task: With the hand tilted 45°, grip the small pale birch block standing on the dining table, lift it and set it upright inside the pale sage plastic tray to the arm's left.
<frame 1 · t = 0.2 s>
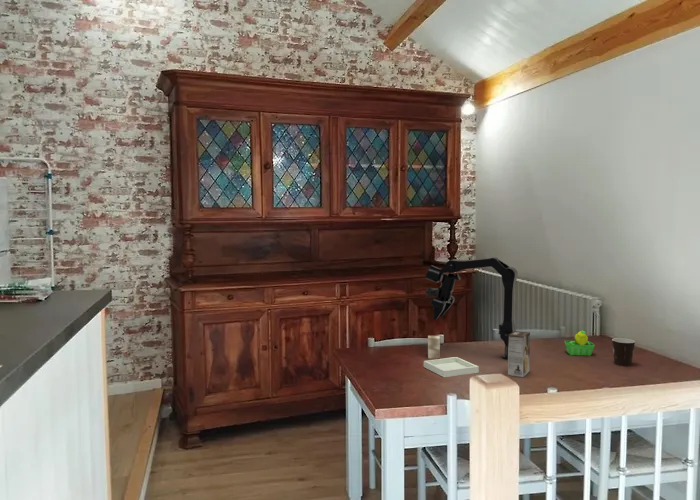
hand: (437, 317, 255), 15 cm above the table, tool tilted 15°, fingers open, 9 cm apart
fruit basket: (579, 354, 247), on the table
birch block: (433, 356, 245), on the table
coffee mug: (621, 365, 230), on the table
coffee box: (518, 373, 219), on the table
tray: (450, 369, 225), on the table
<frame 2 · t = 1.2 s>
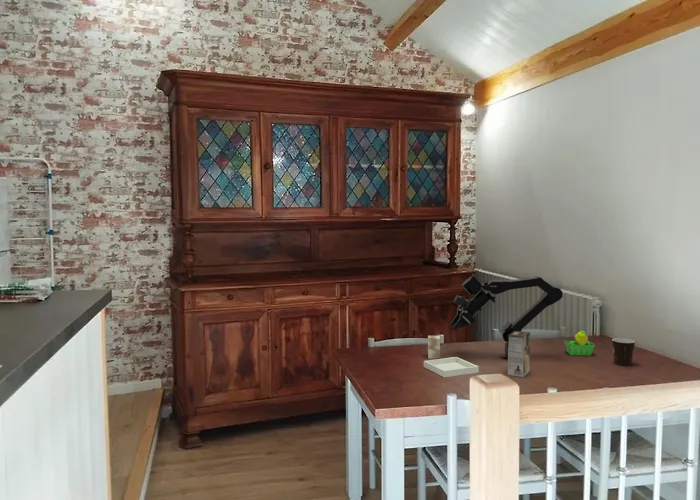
hand: (452, 326, 243), 14 cm above the table, tool tilted 45°, fingers open, 9 cm apart
nothing on the table moved.
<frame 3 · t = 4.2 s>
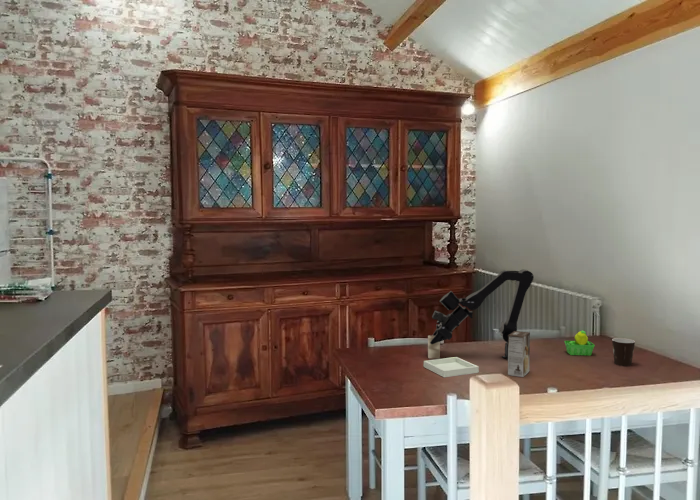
hand: (430, 342, 244), 7 cm above the table, tool tilted 45°, fingers closed on birch block, 5 cm apart
birch block: (433, 356, 245), on the table, touching gripper
everything else where it was.
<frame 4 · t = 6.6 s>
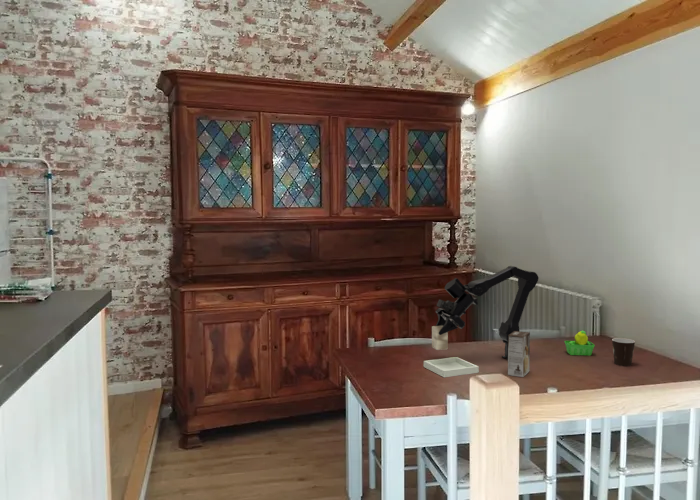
hand: (436, 332, 232), 13 cm above the table, tool tilted 45°, fingers closed on birch block, 5 cm apart
birch block: (439, 348, 233), point 7 cm above the table, touching gripper
everything else where it was.
when the fingers open (9 cm above the table, at t = 8.8 s): birch block drops 1 cm, resting on tray.
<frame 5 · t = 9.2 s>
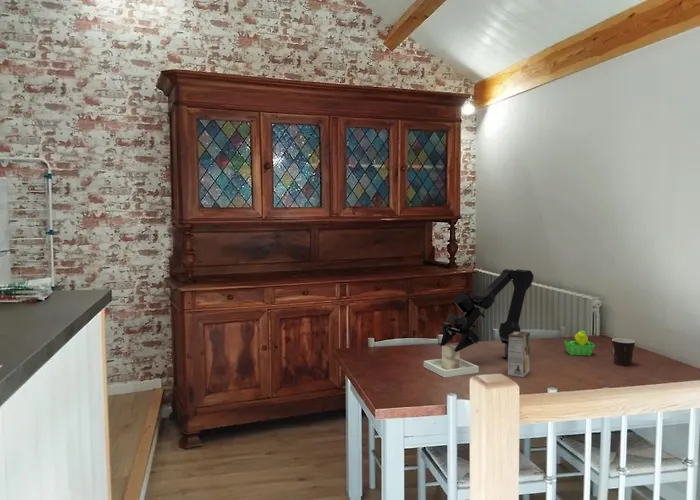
hand: (447, 348, 223), 9 cm above the table, tool tilted 45°, fingers open, 9 cm apart
birch block: (450, 368, 225), point 1 cm above the table, touching tray
everything else where it was.
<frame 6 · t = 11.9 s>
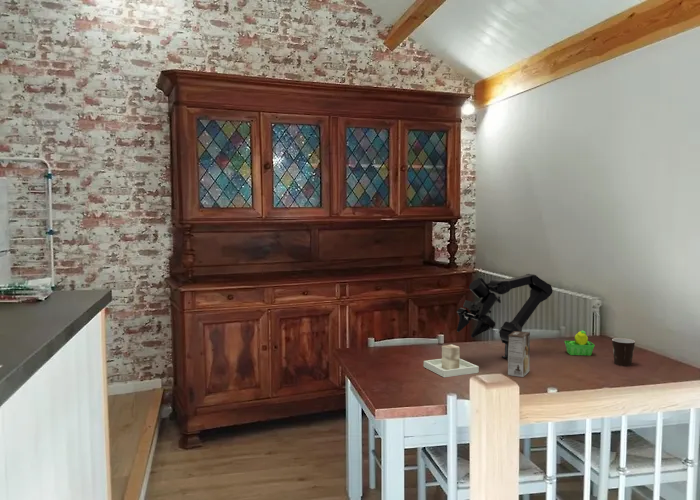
hand: (464, 334, 229), 13 cm above the table, tool tilted 45°, fingers open, 9 cm apart
nothing on the table moved.
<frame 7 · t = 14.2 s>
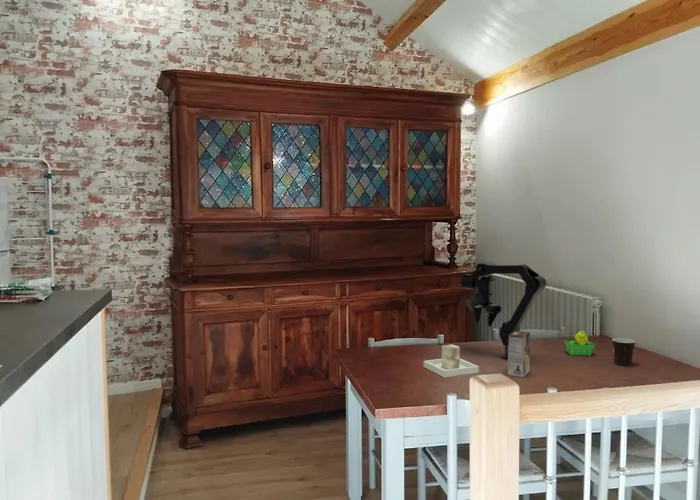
hand: (483, 324, 250), 13 cm above the table, tool pointing down, fingers open, 9 cm apart
nothing on the table moved.
at the end: birch block inside the target area on the tray (0.0 cm from its centre), point 0.6 cm above the tray's base; birch block tilted 0°; the gripper is holding nothing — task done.
